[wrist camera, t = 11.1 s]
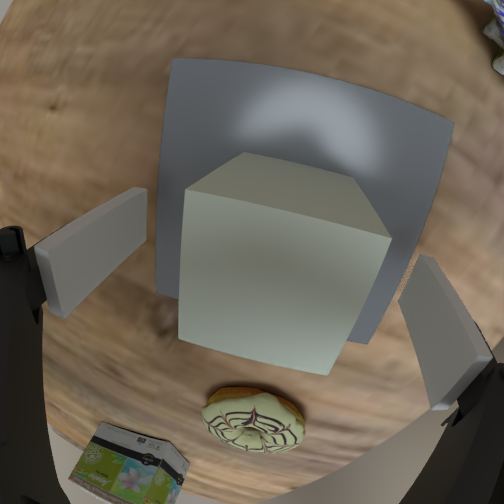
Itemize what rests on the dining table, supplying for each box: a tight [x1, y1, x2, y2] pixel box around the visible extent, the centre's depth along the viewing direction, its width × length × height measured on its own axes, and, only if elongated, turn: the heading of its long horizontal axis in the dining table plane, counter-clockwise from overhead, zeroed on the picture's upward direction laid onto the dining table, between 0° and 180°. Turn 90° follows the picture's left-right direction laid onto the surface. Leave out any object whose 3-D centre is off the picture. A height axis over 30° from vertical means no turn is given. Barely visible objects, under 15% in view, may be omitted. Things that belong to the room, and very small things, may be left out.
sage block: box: [178, 152, 392, 375], centre depth 13 cm, size 6×6×8 cm
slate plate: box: [156, 58, 454, 344], centre depth 17 cm, size 16×16×1 cm
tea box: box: [68, 422, 190, 504], centre depth 34 cm, size 15×10×15 cm, turn 100°
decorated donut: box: [202, 387, 306, 453], centre depth 26 cm, size 10×11×4 cm
